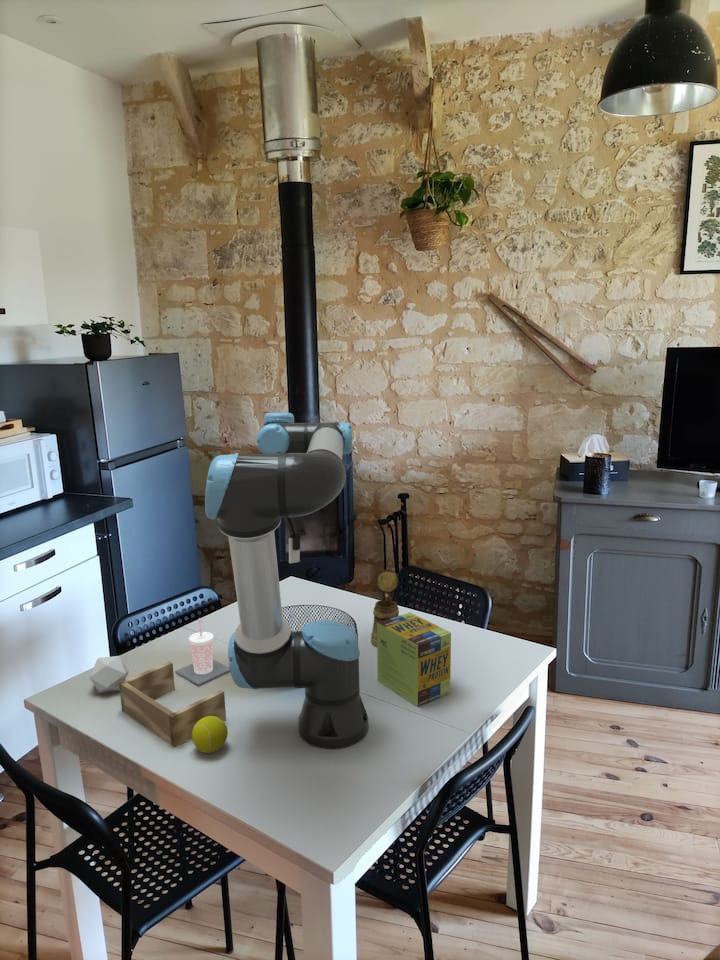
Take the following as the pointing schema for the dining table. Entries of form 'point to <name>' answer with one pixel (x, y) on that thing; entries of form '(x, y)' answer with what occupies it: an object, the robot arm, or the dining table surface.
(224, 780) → the dining table surface
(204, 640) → the beverage cup
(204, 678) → the coaster
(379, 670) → the protein box
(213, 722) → the tennis ball
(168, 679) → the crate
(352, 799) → the dining table surface
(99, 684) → the die
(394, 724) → the dining table surface
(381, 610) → the gold trophy
